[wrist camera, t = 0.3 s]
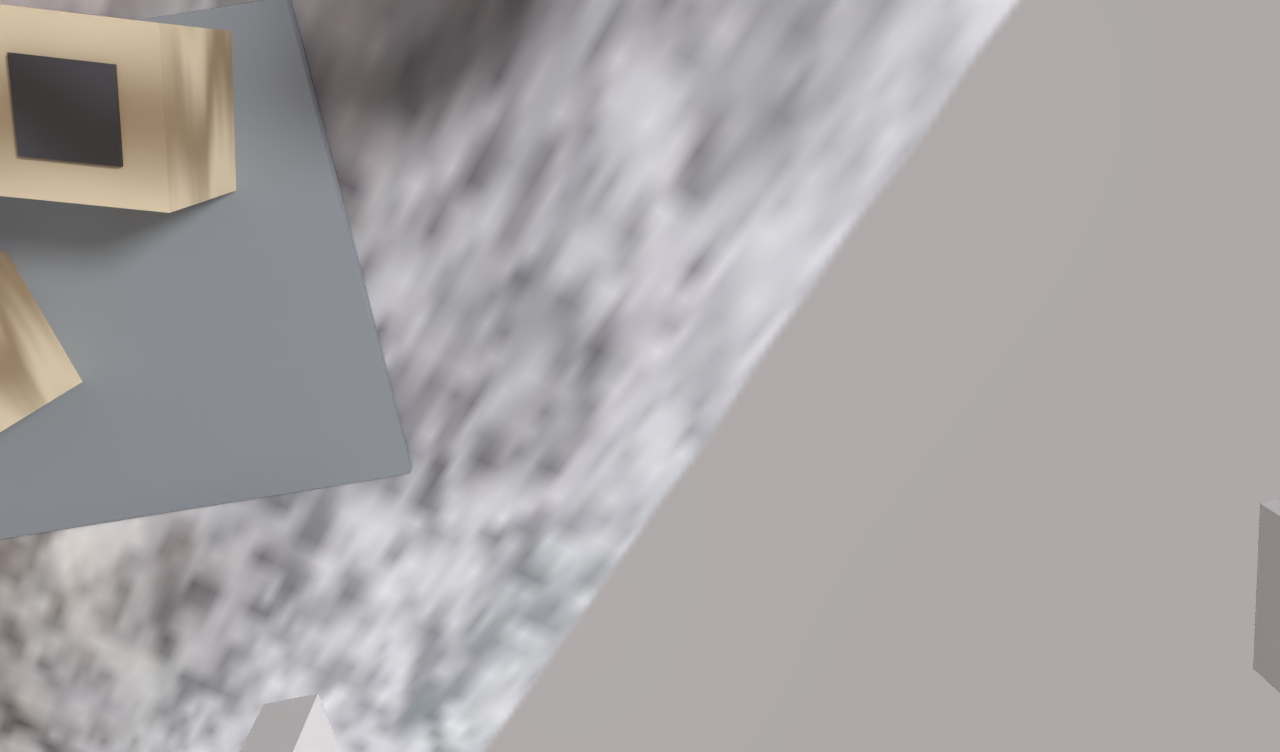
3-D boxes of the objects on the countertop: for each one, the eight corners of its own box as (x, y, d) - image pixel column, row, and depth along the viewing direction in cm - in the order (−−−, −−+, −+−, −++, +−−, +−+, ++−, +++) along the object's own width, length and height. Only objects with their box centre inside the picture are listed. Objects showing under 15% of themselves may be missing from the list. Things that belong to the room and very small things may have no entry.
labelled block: (65, 11, 33) (-47, -2, 28) (231, 31, 34) (156, 22, 28) (79, 174, 35) (-22, 195, 29) (236, 190, 36) (166, 213, 30)
